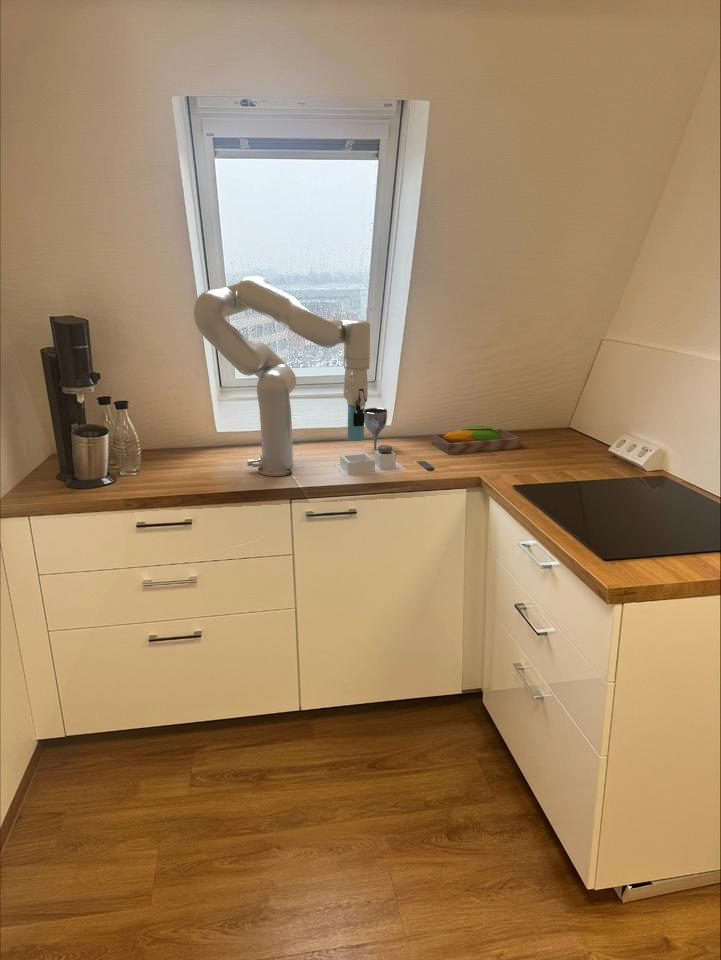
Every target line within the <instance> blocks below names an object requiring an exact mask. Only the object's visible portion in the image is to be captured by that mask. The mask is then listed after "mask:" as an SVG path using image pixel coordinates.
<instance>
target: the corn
mask: <svg viewBox="0 0 721 960" xmlns="http://www.w3.org/2000/svg"><path fill="white" fill-rule="evenodd" d="M459 428H460V429H461V430H454V431H450V432H446V433H447V434H446V435H444V438H445V439H446V440H447V441H450V442H454V443H460V442H471V441H483V440H495V439H500V438H501V435H500V434H499V432H498V431H496V430H495V429H496V428H494V427H492V426H485V425H469V426H460V427H459ZM494 430H495V431H494Z"/></svg>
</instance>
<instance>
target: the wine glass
mask: <svg viewBox="0 0 721 960" xmlns="http://www.w3.org/2000/svg"><path fill="white" fill-rule="evenodd" d="M387 420H388V409H386V408H382V407H368V408H364V427H365V428H366V429H367V431H368V432H369V433H370V434H371V436H372V439H373V451H377V441H378V437H379V435H380V434H381V433H382V432H383V430H384V429H385V427H386V426H387V422H388V421H387Z"/></svg>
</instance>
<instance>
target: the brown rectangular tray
mask: <svg viewBox="0 0 721 960" xmlns="http://www.w3.org/2000/svg"><path fill="white" fill-rule="evenodd" d="M494 429H495V430H496V431H498V432H499V434H500V435H501V438H500V439H495V440H483V441H471V442H460V443H453V442H450V441H447V440H446V439H445V438H444V435H446V434H447V433H448V432H441V433H432V434H431V445H433V446H434V445H435V446H434V447H436V448H437V447H438V448H437V449H439V450H441V452H444V454H446V455H455V454H457V453H458V454H466V453H468V454H469V453H477V452H478V453H480V452H479V451H481V452H489V451H491V450H492V451H500V449H501V451H502V449H503V450H512V449H513V448H514V449H520V448H521V439H522V438H521V437H519V436H517V435H514V434H513V433H511V432H509V431H506V430H504V428H503V429H502V428H494ZM495 430H494V431H495ZM458 454H457V455H458Z"/></svg>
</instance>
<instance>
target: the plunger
mask: <svg viewBox="0 0 721 960" xmlns="http://www.w3.org/2000/svg"><path fill="white" fill-rule="evenodd" d="M377 451H379V452H381V454H389V452H392V451H393V446H392V445H388V444H381V445H378V446H377Z"/></svg>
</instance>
